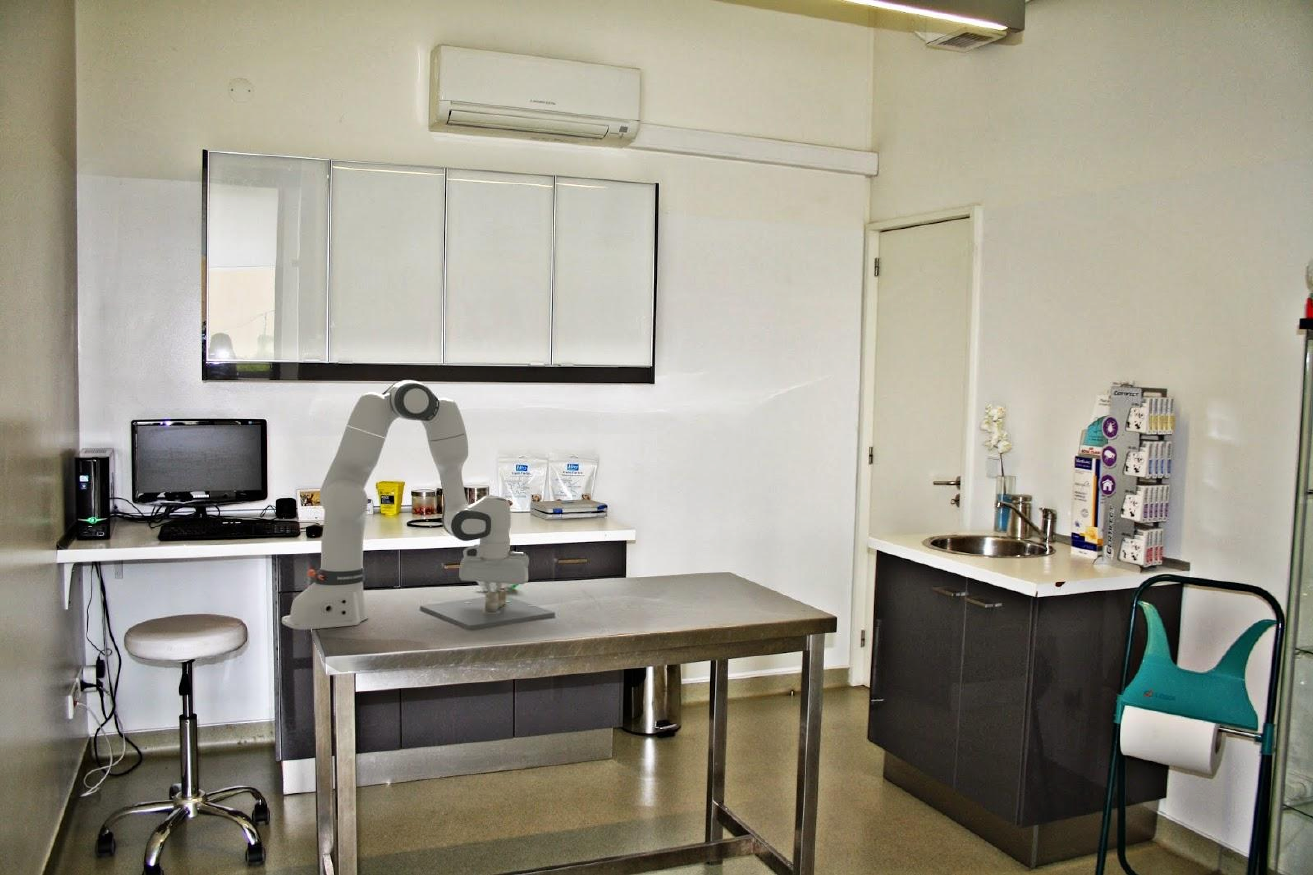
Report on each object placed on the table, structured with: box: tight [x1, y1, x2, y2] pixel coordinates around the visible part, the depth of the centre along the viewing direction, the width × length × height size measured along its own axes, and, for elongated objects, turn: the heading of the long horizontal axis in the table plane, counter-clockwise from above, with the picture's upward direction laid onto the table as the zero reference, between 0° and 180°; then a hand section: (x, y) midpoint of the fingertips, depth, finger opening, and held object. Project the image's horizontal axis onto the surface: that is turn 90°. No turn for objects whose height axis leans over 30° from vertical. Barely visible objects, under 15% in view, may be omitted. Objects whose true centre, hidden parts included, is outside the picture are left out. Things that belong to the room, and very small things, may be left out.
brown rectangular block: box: [484, 587, 507, 613], centre depth 290 cm, size 4×14×5 cm, turn 173°
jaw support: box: [476, 581, 520, 592], centre depth 321 cm, size 12×9×10 cm
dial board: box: [419, 595, 556, 631], centre depth 289 cm, size 28×28×1 cm
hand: (493, 597), depth 294 cm, fingers closed
